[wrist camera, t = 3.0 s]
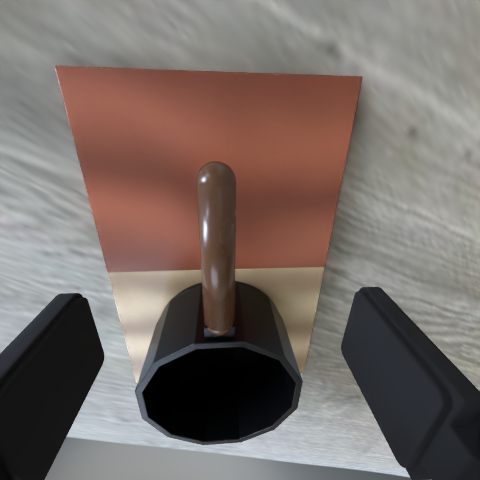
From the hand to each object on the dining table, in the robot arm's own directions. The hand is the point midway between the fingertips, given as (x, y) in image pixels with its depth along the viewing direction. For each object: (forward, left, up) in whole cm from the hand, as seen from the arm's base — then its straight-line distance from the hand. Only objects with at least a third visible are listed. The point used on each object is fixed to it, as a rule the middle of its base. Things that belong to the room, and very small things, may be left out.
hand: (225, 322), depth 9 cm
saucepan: (+7, 0, -12) cm, 13 cm away
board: (+5, 0, -12) cm, 14 cm away
